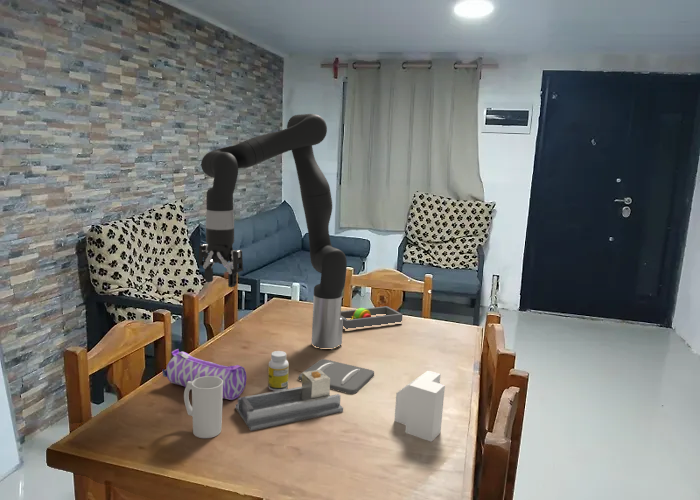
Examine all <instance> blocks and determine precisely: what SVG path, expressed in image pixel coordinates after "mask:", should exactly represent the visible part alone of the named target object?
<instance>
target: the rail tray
mask: <svg viewBox="0 0 700 500" xmlns="http://www.w3.org/2000/svg"><path fill="white" fill-rule="evenodd" d="M301 373H302V381H301V386H297V387H292V388H291V387H290V388H287V389H285V390H280V391H270V392H264V393H259V394H254V395H246V396H241V397H240V396H239V397H237V403H235V410H236V412H237V413H238V414H239V416H240V417H241V419H242V420H243V422H244V423H245V424H246V426H247V428H248V430H249V431H250V432H252V431H257V430H263V429H266V428H271V427H276V426H280V425H281V426H282V425H286V424H291V423H296V422H301V421H305V420H310V419H315V418H319V417H324V416H328V415H332V414H333V415H334V414H339V413H342V412H344V407H343V406H342V405H341V395H340V394H339V393H336V394H331V395H330V391H331V389H330V378H329V377H328V376H327V375H326V374H324V373H323V372H322V371H321V370H314V371H308V372H304V371H302V372H301Z"/></svg>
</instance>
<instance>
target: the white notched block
mask: <svg viewBox="0 0 700 500" xmlns="http://www.w3.org/2000/svg"><path fill="white" fill-rule="evenodd" d="M440 382H441V373H438V372H435V371H431V370H426V371H425V372H424V373H422V374H420V375H419V376H418V377H416V378H415V379H413V380H412V381H410V382H409V383H408V384H406V385H405V386H403V387H402V388H401V389H400V390H398V392H396V395H395V406H394V407H395V409H394V422H396V423H398V424H402V425H405V434H407V435H408V434H409V435H411V436H414V437H416V438H419V439H422V440H425V441H428V442H433V441H434V440H435V439H436V438H437V436H438V437H439V435H440V433H441V432H442V421H443V420H442V419H443V412H444V411H443V410H444V399H445V391H446V390H445V388H446V385H445V384H442V383H440Z"/></svg>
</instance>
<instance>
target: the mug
mask: <svg viewBox="0 0 700 500" xmlns="http://www.w3.org/2000/svg"><path fill="white" fill-rule="evenodd" d="M190 391H191V402H190V399H189V398H190V397H189V396H190ZM223 399H224V398H223V380H222V379H221V378H219V377H215V376H203V377H199V378H196V379H195V380H193V381H192V382H191V381H188V382H187V386H186V387H184V392H183V400H184V405H185V409H186V413H187V416H191V417H192V433H193V435H194V436H195V437H196V438H200V439H211V438H214V437H217V436H219V434H221V432H222V424H223V423H222V420H223Z"/></svg>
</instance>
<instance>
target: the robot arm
mask: <svg viewBox="0 0 700 500" xmlns="http://www.w3.org/2000/svg"><path fill="white" fill-rule="evenodd" d="M327 127H328V126H327V123H326V121H325V118H323V117H322V116H320V115H318V114H316V113H303V114H295V115H292V116H291V117H290V118H289V119H288V121H287V125H286V128H284V129H281V130H278V131H274V132H269V133H265V134H261V135H257V136H254V137H251V138H248V139H246V140H244V141H241V142H239V143H237V144H234V145H229V146H225V147H221V148H218V149H217V148H216V149H214V150H212V151H209V152H208V153H206V154H205V155H204V156H203V157H202V159H201V163H200V167H201V170H202V172H203V174H205V175H206V176H207V177H210V178H213V183H212V187H210V188H208V190H207V191H206V196H205V197H206V200H205V202H206V212H205V213H206V214H205V243H203V244H200V245H198V266H200V267H203V269H204V280H205V282H206V283H212V282H213V281H214V268H213V266H214V265H215V264H217V263H218V264H220V265H223V267H224V268H225V269H226V271H227V272H228V275H227V276H228V277H227V281H228V283H227V284H228V285H227V286H228V287H229V288H235V286H237V284H238V283H237V282H238V273H240V272H243V271H244V261H243V260H244V259H243V250H242V249H237V250H235V249H233V244H234V243H235V215H234V192H235V189H236V185H237V180H238V175H239V169H247V168H251V167H253V166H255V165H258V164H260V163H263V162H265V161H269V160H270V159H272V158H274V157H276V156H280V155H282V154H285V153H287V152H289V151H291V153H292V157H293V160H294V165H295V168H296V175H297V179H298V184H299V190H300V195H301V202H302V207H303V211H304V212H303V213H304V216H305V218H304V219H305V223H306V227H307V232H308V243H309V255H310V256H309V257H310V264H311V266H312V267H313V270H315V271H316V272H318V273H319V274H321V275H320V281H319V283H318V284H316V285H315V286H314V287H313V298H312V299H313V302H312V303H313V306H312V323H311V325H312V327H311V328H312V329H311V345H312V344H313V345H314V346H316V347H319V348H334V347H337V346H338V345H341V344H342V343H343V341H342V340H343V319H342V318H341V311H342V297H343V291H344V289H345V286H346V276H347V266H348V265H347V263H348V262H347V257H346V254H345V253H344V251H343V250H341V249H339V248H336V247H333V245H332V242H331V236H330V231H329V229H330V228H329V225H330V221H331V218H332V212H333V198H332V193H331V188H330V184H329V181H328V179H327V178H326V176H325V175H324V172H323V171H322V169H321V168H320V166H319V164H318V163H317V160H316V158H315V155H314V150H313V146H316V145H319V144H320V143H322V142H323V141H324V140H325V138H326V136H327V133H328V132H327V131H328V128H327ZM342 345H343V344H342Z"/></svg>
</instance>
